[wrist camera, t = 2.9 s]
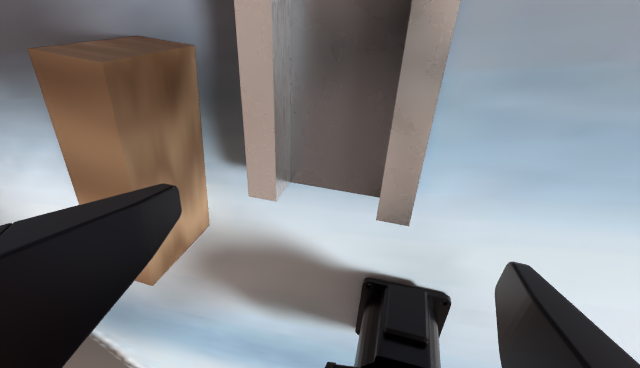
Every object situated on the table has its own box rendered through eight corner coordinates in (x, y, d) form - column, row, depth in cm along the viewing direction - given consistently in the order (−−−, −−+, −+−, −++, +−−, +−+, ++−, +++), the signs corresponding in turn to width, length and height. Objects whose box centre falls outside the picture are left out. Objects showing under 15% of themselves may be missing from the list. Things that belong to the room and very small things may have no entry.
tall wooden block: (210, 224, 27) (152, 286, 21) (168, 212, 28) (100, 269, 22) (196, 45, 20) (102, 62, 14) (139, 35, 21) (27, 48, 15)
